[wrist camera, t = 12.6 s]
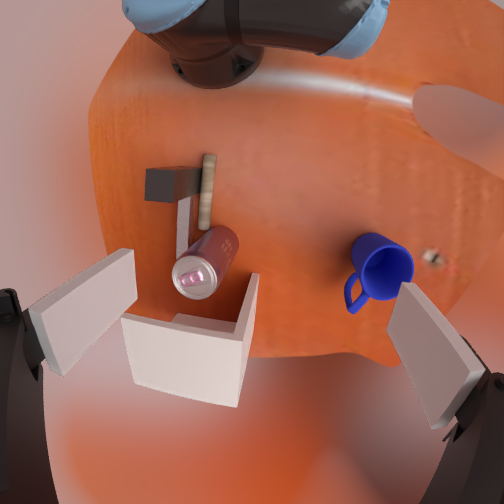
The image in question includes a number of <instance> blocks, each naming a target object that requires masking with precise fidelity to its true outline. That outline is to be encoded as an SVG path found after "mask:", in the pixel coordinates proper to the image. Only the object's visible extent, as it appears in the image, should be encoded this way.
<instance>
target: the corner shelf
mask: <svg viewBox="0 0 504 504" xmlns="http://www.w3.org/2000/svg"><path fill="white" fill-rule="evenodd" d="M258 282H259V273H252V275H251V279H250V282H249V285H248V288H247V292H246V295H245V298H244V301H243V304H242V308H241V311H240V314H239V317H238V321H237V323H236V322H229V321H223V320H216V319H210V318H204V317H198V316H192V315H187V314H181V313H177V314H176V315H175V317H174V318H173V320H172V321H171V322H165V321H161V320H156V319H151V318H147V317H143V316H138V315H134V314H130V313H126V312H125V313H124V314H123V315H122V316H121V317H120V319H121V324H122V330H123V335H124V340H125V345H126V350H127V354H128V359H129V363H130V367H131V371H132V375H133V379H134V383H135V384H138V385H141V386H145V387H148V388H151V389H155V390H158V391H162V392H166V393H169V394H173V395H178V396H182V397H186V398H190V399H194V400H199V401H204V402H209V403H214V404H219V405H225V406H230V407H237V405H238V401H239V396H240V391H241V387H242V382H243V377H244V373H245V368H246V363H247V358H248V354H249V349H250V344H251V339H252V335H253V329H254V320H255V311H256V301H257V292H258Z"/></svg>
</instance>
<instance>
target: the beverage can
mask: <svg viewBox="0 0 504 504" xmlns="http://www.w3.org/2000/svg"><path fill="white" fill-rule="evenodd" d="M238 248H239V242H238V238H237V236H236V234H235V233H234V232H233V231H232V230H231V229H229V228H227V227H223V226H217V227H213V228H211V229H210V230H209V231H207V232H206V233H205V234H204V235H203V236H202V237H201V238H200V239H199V240H197V241H196V242H195V243H194V244H193V245H192V246H191V247H190V248H189V249H188V250H186V251H185V252H184V253H183V254H182V255H181V256H180V257H179V258H178V259H177V261H176V263H175V265H174V267H173V270H172V280H173V283H174V285H175V287H176V289H177V290H178V291H179V292H180V293H181V294H182V295H184V296H185V297H187V298H190V299H194V300H202V299H205V298H207V297H209V296H210V295H211V294H213V293H214V292H215V291H216V290H217V288H218V287H219V285H220V283H221V281H222V279H223V277H224V276H225V274H226V272H227V270H228V268H229V266H230V264H231V263H232V261H233V259H234V257H235V255H236V253H237V251H238Z"/></svg>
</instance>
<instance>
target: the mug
mask: <svg viewBox="0 0 504 504" xmlns="http://www.w3.org/2000/svg"><path fill="white" fill-rule="evenodd" d="M351 258H352V262H353V265H354V267H355V270H356V272H355V273H353V274H352V275H351V276H350V277H349V278H348V280H347V282H346V284H345V287H344V297H345V302H346V307H347V310H348V311H349V312H350V313H352V314H355V313H356V312H357V311H358V310H359V309H360V308H361V307H362V306H363V305H364V304H365V303H366V302H367V300H368V299H369V297H372V298H374V299H376V300H390V299H393V298H395V297H397V296H398V293H399V290H400V287H401V283H402V282H408V283H410V282H411V280H412V277H413V273H414V263H413V259H412V257H411V255H410V253H409V252H408V251H407V250H406V249H405V248H404V247H402V246H400V245H398V244H397V243H395V242H393V241H391V240H389V239H388V238H386V237H384V236H382V235H380V234H377V233H367V234H364V235H362V236H361V237H359V238H358V239H357V240H356V242H355V243H354V245H353V248H352V252H351ZM358 278H359V280H360V283H361V286H362V292H361V294H360V296H359V297H358V298H357V299H356V300H355V301H354V302H353V303H352V299H351V289H352V286H353V284H354V283H355V281H356V280H357V279H358Z"/></svg>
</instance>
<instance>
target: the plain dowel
mask: <svg viewBox="0 0 504 504" xmlns="http://www.w3.org/2000/svg"><path fill="white" fill-rule="evenodd" d="M216 157H217V155H209V154H204V158H203V168H202V179H201V190H200V203H199V216H198V229H200V230H209V229H210V221H211V208H212V197H213V186H214V176H215V166H216Z"/></svg>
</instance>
